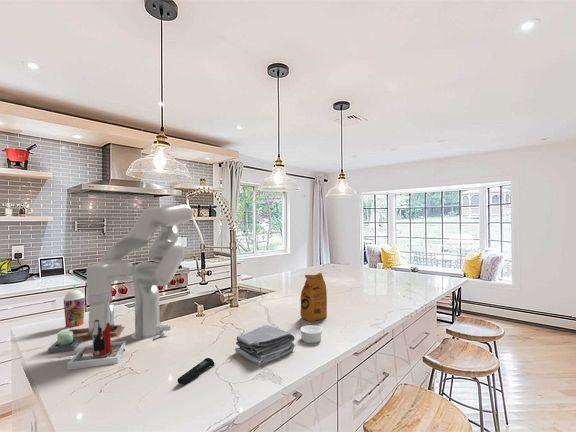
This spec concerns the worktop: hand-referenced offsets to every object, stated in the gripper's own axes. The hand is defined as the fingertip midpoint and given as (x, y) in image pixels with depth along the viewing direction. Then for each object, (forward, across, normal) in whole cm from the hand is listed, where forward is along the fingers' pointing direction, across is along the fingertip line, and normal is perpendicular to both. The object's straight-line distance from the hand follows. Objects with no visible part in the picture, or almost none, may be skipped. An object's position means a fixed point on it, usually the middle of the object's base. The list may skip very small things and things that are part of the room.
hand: (101, 346), depth 114 cm
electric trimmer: (+4, +25, +33) cm, 42 cm away
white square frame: (+4, +1, -1) cm, 4 cm away
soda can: (+3, 0, 0) cm, 3 cm away
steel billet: (+3, -21, -4) cm, 22 cm away
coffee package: (+6, -15, +89) cm, 91 cm away
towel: (+5, +15, +58) cm, 60 cm away
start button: (+1, -9, -15) cm, 17 cm away
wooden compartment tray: (+4, -21, -9) cm, 23 cm away
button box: (+3, -9, -15) cm, 18 cm away
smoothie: (+4, -38, -21) cm, 44 cm away
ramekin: (+5, +10, +78) cm, 79 cm away
